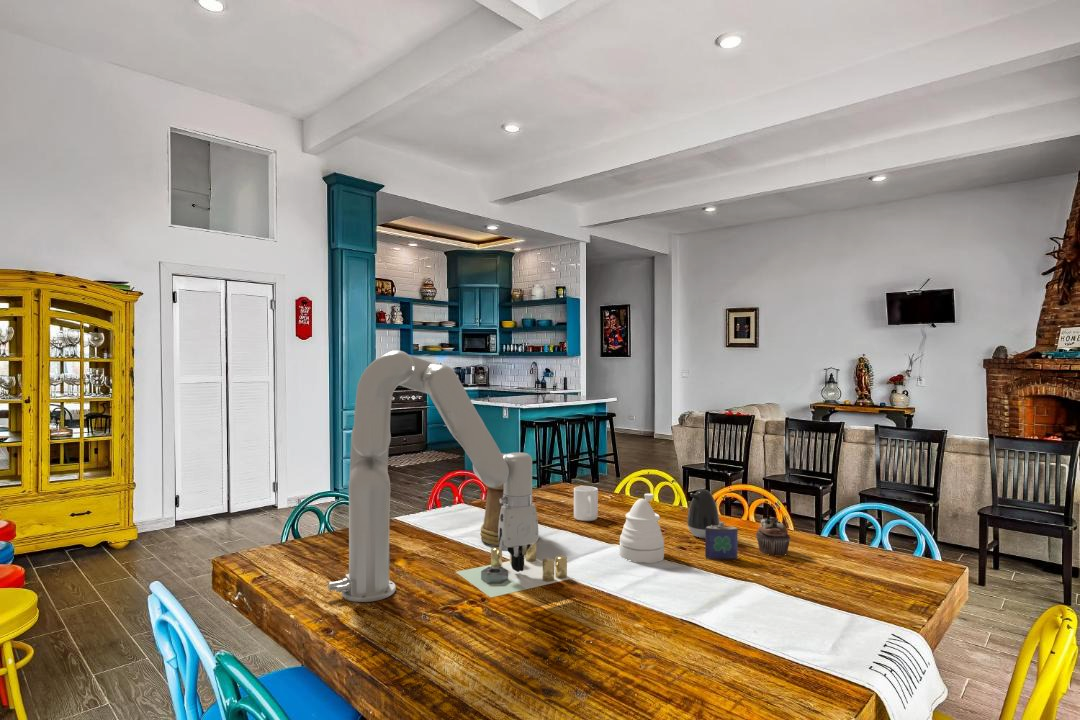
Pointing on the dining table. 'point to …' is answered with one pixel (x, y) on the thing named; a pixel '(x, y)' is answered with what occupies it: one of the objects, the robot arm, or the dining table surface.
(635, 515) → the honey pot
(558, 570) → the spacers
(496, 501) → the tankard
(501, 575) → the nut
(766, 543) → the cupcake
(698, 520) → the penguin figurine
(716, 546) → the flask
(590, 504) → the mug
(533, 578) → the mat
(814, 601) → the dining table surface
